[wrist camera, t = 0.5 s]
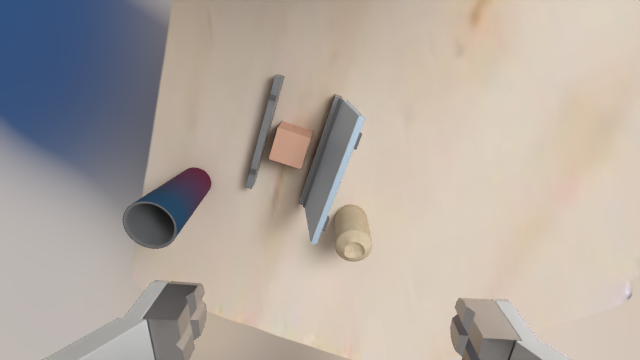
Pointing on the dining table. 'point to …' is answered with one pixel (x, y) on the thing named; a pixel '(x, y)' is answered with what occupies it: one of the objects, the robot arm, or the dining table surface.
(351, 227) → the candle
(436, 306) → the dining table surface
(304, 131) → the block
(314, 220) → the cover
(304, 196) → the grey rail
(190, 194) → the cup
